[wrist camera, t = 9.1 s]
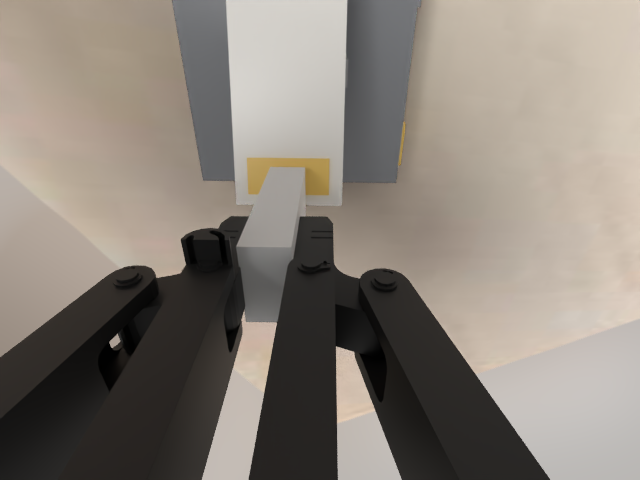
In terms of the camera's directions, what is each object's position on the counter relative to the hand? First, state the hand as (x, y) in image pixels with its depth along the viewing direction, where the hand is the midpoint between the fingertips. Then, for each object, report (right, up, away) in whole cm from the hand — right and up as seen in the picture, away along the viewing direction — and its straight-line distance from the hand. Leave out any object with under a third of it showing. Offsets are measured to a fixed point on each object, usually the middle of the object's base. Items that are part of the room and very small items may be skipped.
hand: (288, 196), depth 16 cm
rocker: (0, +5, 0) cm, 5 cm away
